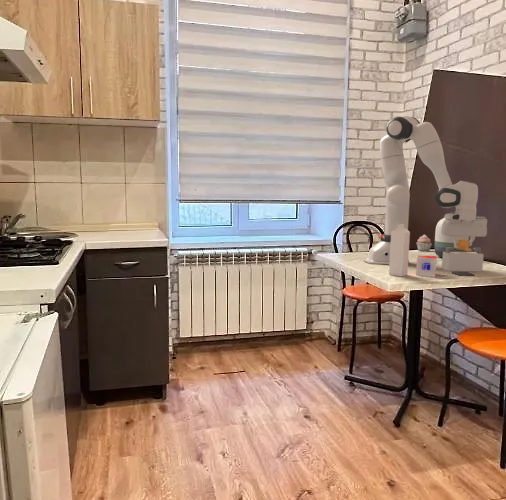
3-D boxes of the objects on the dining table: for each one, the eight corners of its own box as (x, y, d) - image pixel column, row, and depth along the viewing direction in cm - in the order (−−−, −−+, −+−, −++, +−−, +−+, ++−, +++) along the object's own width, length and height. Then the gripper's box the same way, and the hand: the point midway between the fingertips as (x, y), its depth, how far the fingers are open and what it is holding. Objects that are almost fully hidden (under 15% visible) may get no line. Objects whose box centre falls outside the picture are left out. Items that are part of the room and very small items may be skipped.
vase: (470, 260, 262) (473, 215, 259) (436, 259, 265) (439, 214, 261) (462, 256, 278) (466, 213, 275) (431, 255, 281) (434, 212, 278)
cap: (450, 247, 236) (451, 237, 236) (460, 247, 237) (461, 238, 236) (464, 251, 224) (465, 241, 223) (474, 251, 224) (475, 241, 224)
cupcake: (421, 249, 305) (422, 233, 304) (434, 251, 298) (436, 234, 296) (412, 250, 300) (413, 234, 299) (425, 252, 292) (426, 235, 291)
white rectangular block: (448, 270, 228) (449, 248, 226) (441, 268, 234) (443, 246, 233) (482, 271, 228) (484, 248, 227) (474, 268, 235) (476, 247, 234)
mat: (458, 275, 216) (458, 274, 216) (451, 272, 223) (451, 271, 222) (474, 275, 216) (474, 274, 216) (467, 273, 223) (467, 271, 223)
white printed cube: (435, 273, 220) (436, 256, 219) (435, 276, 213) (436, 258, 212) (416, 272, 223) (417, 255, 222) (415, 275, 215) (416, 257, 214)
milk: (407, 274, 216) (410, 224, 213) (401, 276, 211) (405, 225, 208) (394, 273, 219) (397, 223, 216) (388, 274, 215) (391, 224, 212)
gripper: (484, 216, 232) (481, 245, 234) (441, 214, 231) (438, 244, 233) (491, 217, 225) (488, 247, 227) (446, 215, 225) (444, 246, 227)
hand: (462, 245), depth 230 cm, fingers closed on cap, 5 cm apart
